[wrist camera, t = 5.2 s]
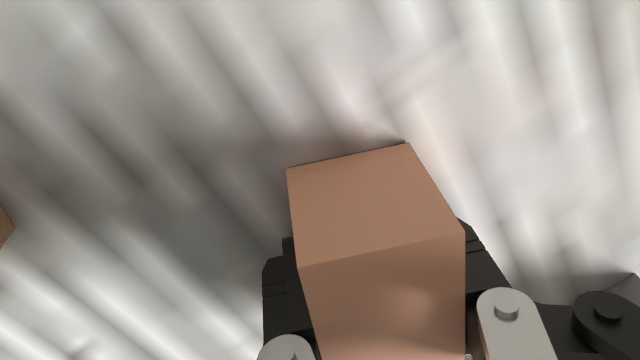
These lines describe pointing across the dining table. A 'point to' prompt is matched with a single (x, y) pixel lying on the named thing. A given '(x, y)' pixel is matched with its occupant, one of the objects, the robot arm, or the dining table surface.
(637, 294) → the charcoal brick
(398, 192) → the terracotta brick
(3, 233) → the walnut brick
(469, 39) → the dining table surface
